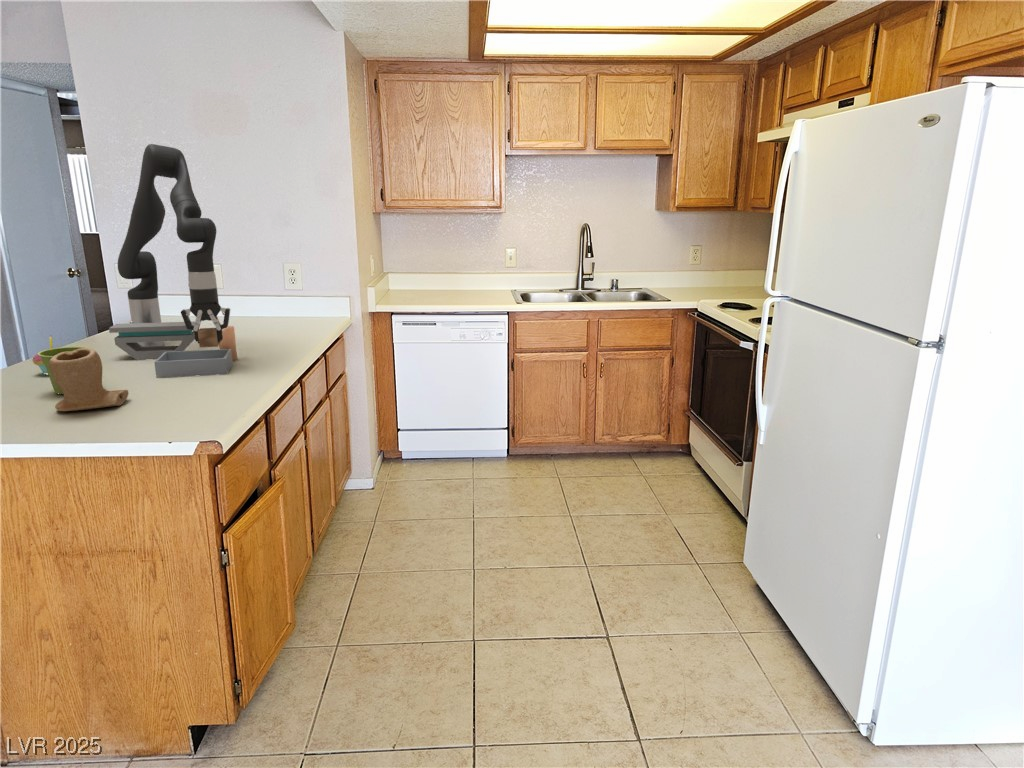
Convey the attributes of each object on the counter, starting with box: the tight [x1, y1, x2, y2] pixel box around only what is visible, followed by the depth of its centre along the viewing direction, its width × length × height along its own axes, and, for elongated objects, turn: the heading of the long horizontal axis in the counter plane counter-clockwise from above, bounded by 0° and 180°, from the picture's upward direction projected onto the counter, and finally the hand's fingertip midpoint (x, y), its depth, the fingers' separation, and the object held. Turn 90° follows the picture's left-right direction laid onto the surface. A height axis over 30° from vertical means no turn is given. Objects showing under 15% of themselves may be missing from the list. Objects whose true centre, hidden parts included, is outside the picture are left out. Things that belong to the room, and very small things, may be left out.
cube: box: [198, 327, 220, 348], centre depth 199 cm, size 5×5×5 cm
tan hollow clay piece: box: [49, 347, 129, 412], centre depth 160 cm, size 15×12×15 cm
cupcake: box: [31, 334, 54, 374], centre depth 192 cm, size 9×8×12 cm
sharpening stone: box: [108, 321, 195, 361], centre depth 216 cm, size 25×8×11 cm, turn 105°
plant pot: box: [37, 346, 91, 395], centre depth 174 cm, size 12×12×11 cm
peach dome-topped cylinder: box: [218, 325, 238, 362], centre depth 212 cm, size 5×5×11 cm
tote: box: [154, 348, 233, 379], centre depth 199 cm, size 19×14×5 cm
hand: (209, 342), depth 199 cm, fingers closed on cube, 5 cm apart
